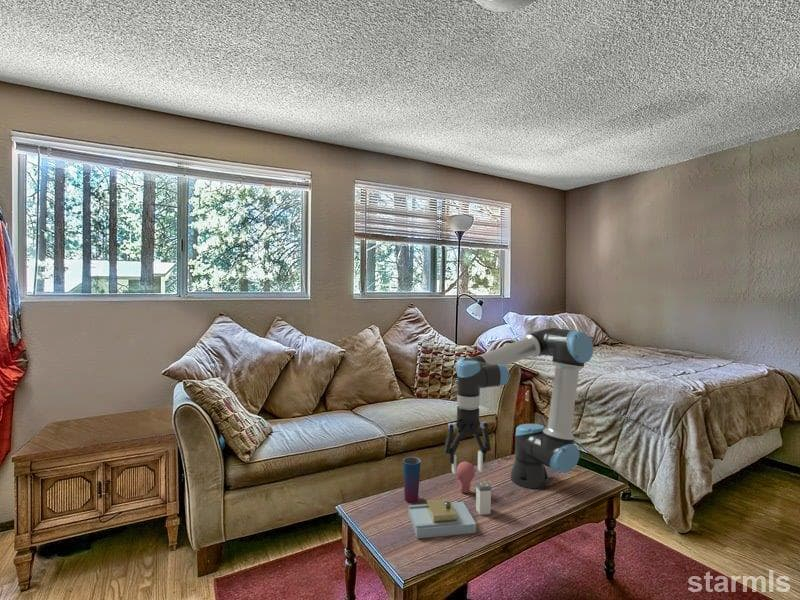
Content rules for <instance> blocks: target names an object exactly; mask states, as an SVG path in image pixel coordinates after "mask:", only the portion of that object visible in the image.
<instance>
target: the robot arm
mask: <svg viewBox="0 0 800 600" xmlns="http://www.w3.org/2000/svg"><path fill="white" fill-rule="evenodd" d="M593 354H594V345H593V340H592V339H591V337H590V336H589V335H588V334H587V333H585V332H583V331H579V330H575V329H565V328H558V327H557V328H556V327H548V328H544V329H540V330H537V331H533V332H531V333H528V334H525V335H524V337H523V338H521V339H519V340H516V341H514V342H511V343H509V344H506V345H502V346H501V347H498V348H495V349H492V350H490V351H487V352H484V353H482V354H479V355H476V356H473V357H464V356H463V357H461V358H459V359H457V361H456V363H455V372H456V373H457V380H456V381H457V383H456V384H457V385H456V386H457V389H456V391H457V396H456V398H457V399H456V400H457V401H456V404H457V407H456V421H455V422H447V434H446V437H445V442H444V447H443V450H444V452H445V453H446V454H447V455H448V454H449V455H448V457H449V459H448V460H449V463H450V465H451V472H452V474H453V475H457V471H456V470H457V454H456V452H457V449H458V448H459V445H460V443H461V441H462V440H463V438H464V437H465V435H473V437H474V439H475V441H476V443H477V446H478V447H479V450H477V470H478V472H479V473H483V468H484V465H483V463H484V462H486V455H487V453H488V452H491V450H492V448H491V442H490V438H489V432H488V428H489V423H488V422H486V421H485V420H482V421H480V395H481V394H480V391H481V389H485V388H493V387H495V388H496V387H501V386H505V385H507V384H508V382H509V379H510V372H509V371H510V370H509V369H508V367H507V366H509V365H512V364H514V363H516V362H520V361H521V360H522V361H523V360H524V359H527V358H529V357H532V358H537V357H539V356H549V357H552V363H553V365H554V366H555V370H554V377H553V384H552V385H553V386H552V393H551V397H550V398H551V399H550V408H549V413H548V414H549V415H548V420H547V427H545V426H544V425H542V424H539V423H523V424H519V425H518V426H517V427H515V428H516V429H515V434H514V436H515V438H514V439H515V445H514V446H515V449H514V450H515V454H514V455H515V458H514V459H515V460H514V462H513V464H512V466H511V470H510V480H511V481H512V482H513V483H514V484H516V485H518V486H521V487H525V488H527V489H528V488H529V489H543V488H545V487H547V486H548V485H549V474H548V471H547V468H549V469H551V470H553V471H556V472H557V473H558V472H559V473H561V474H566V473H569V472H570V471H572V470H573V469H574V468H575V467H576V466H577V464H578V461H580V450H579V448H578V446H577V445H576V444H575V436H574V435H573V433H572V427H573V426H572V425H573V419H574V412H575V403H576V399H577V391H578V390H577V389H578V381H579V374H580V371H581V370H582V369H584V368H585V364H586V363H589V362H590V360H591V358H592V357H593ZM456 427H457V431H456V434H455V437H454V433H455V432H454V431H455V430H456ZM479 427H480V428H481V432H482V434H481V435H482V437H483V441H482V439H481V437H480V435H479V432H478V428H479ZM453 437H454V438H453ZM546 467H547V468H546Z"/></svg>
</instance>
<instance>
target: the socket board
mask: <svg viewBox="0 0 800 600" xmlns="http://www.w3.org/2000/svg"><path fill="white" fill-rule="evenodd" d="M451 504H452V506H453V508H454V509H455V511H456V513H457V521H451V522H440V523H433V521H432V519H431V517H430V514H429V512H428V510H427V507H426V505H427V503H423V504H422V503H421V504H412V505H411V504H409V505H408V517H409V520H410V522H411V526H412V529H413V531H414V534H415V535H414V536H415V537H416V539H425V538H437V537H445V536H459V535H469V534H476V533H477V523H476V520H475V519H474V517H473V516H472V514H471V513H470V511H469V509H468V508H467V506H466V505H465V503H464V501H456V502H455V501H454V502H451Z"/></svg>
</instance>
